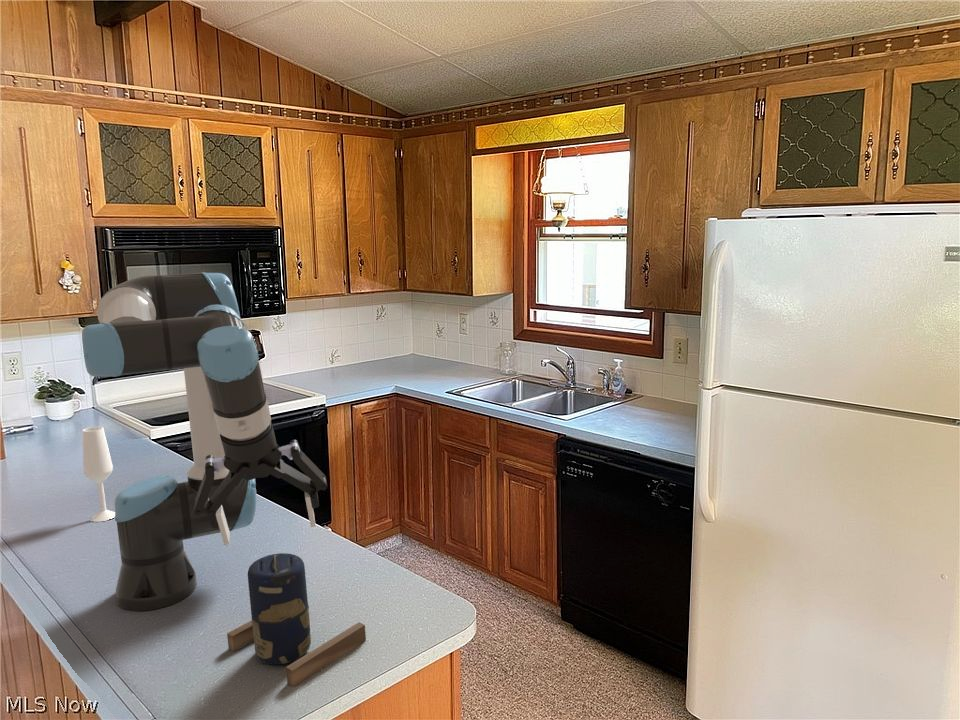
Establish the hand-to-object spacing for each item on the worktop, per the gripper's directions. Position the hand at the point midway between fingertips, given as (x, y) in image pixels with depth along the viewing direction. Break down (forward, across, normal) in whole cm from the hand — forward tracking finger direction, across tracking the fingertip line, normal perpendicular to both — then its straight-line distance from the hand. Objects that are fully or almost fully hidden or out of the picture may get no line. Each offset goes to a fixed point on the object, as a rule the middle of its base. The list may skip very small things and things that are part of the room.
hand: (270, 530), depth 115 cm
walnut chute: (+25, 0, -4) cm, 25 cm away
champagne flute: (+47, -48, +67) cm, 95 cm away
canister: (+24, -2, -5) cm, 25 cm away
